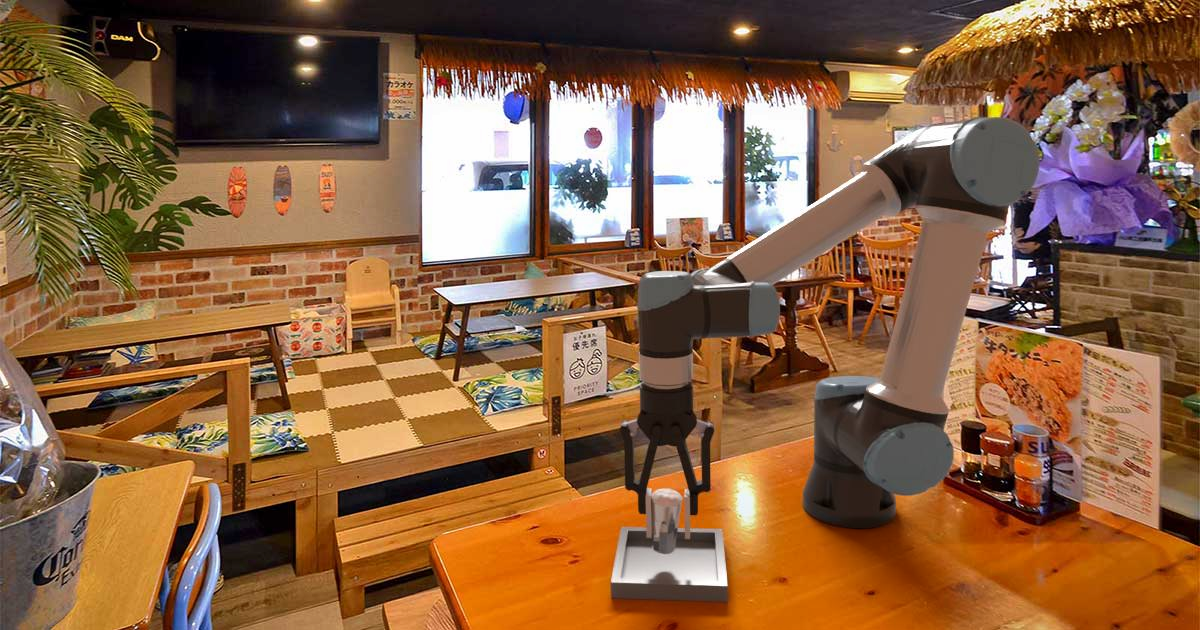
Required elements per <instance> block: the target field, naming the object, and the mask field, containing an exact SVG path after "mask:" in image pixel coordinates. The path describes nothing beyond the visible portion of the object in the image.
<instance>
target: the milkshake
mask: <svg viewBox="0 0 1200 630" xmlns="http://www.w3.org/2000/svg"><path fill="white" fill-rule="evenodd" d="M687 489H688V488H687ZM688 490H689V489H688ZM688 490H687V491H688ZM686 493H687V492H686ZM684 499H685V494H684V495H683V497H682V495H681V494H680V492H678V491H677V490H674V489H672V488H659V489H656V490H654V491H653V492H652V496H651V505H652V547H653V550H654V551H656V552H658V553H661V554H669V553H672V552H673V551H674V550H675V544H676V537H677V530H678V528H679V523H680V515H681V511H682V505H683V500H684Z"/></svg>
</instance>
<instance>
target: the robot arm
mask: <svg viewBox="0 0 1200 630" xmlns="http://www.w3.org/2000/svg"><path fill="white" fill-rule="evenodd" d="M1039 171H1040V154H1039V149H1038V145H1037V143H1036V142H1035V141H1034V140H1033V137H1032V136H1031V133H1030V132H1029V130H1027V128H1025V126H1023V125H1022V124H1021V123H1019V122H1018V121H1016V120H1013V119H1011V118H1007V117H1002V116H993V117H987V116H982V115H981V116H976V117H975V116H974V117H972V118H969V119H962V120H956V121H948V122H938V123H933V124H928V125H926V126H924V127H921V128H920V129H917V130H915V131H913V132H911V133H910V134H907V135H906V136H904V137H903V138H902V139H900V140H898V141H896V142H895V143H894V144H892V145H890V146H889V147H888V148H886V149H885V150H883V151H881V152H880V153H879V154H877V155H875V156H874V157H873V158H871V159H869V160H868V161H866V162H864V163H863V164H861V165H860V167H859V171H858V174H857V175H856V176H854V177H853V178H851V179H848V180H847V181H846V182H844V183H843V184H841V185H840V186H839V187H837V188H835V189H834V190H832V191H831V192H829V193H828V194H825V195H824V196H823V197H821V198H819V199H818V200H817V201H815V202H813V203H811V204H810V205H809V206H807V207H805V208H804V209H802V210H801V211H799V212H797V213H796V214H794V215H792V216H791V217H790V218H788V219H786V220H784V221H783V222H781V223H780V224H778V225H777V226H775V227H773V228H772V229H770V230H768V232H767V231H766V233H764V234H763V235H761V236H759V237H758V238H756V239H755V240H753V241H752V242H750V243H748V244H747V245H745V246H744V247H742V248H740V249H739V250H737V251H735V252H734V253H732V254H731V255H729V256H728V257H727V258H725V259H723V260H722V261H720V262H718V263H716V264H714V265H713V266H711V267H709V268H701V269H698V270H694V271H692V272H691V273H689V272H687V271H680V270H657V271H651V272H646V273H645V274H643V275H641V277H640V278H639V279H638V293H637V294H638V295H637V297H638V298H637V305H636V308H637V323H638V325H637V326H638V328H637V329H638V347H639V348H638V368H639V370H638V371H639V372H638V373H639V375H638V376H639V380H640V381H641V383H639V408H640V409H639V413H638V414H637V418H635V419H633V420H629V421H628V420H626V419H625V420H623V421H621V424H620V428H619V432H620V434H621V435H620V436H621V437H622V439H623V445H624V451H623V452H624V488H625V490H627V491H629V492H630V491H633V492H635V493H636V495H637V509H638V510H637V511H638V513H639V515H645V526H646V538H652V505H651V496H652V494H653V492H652V491H653V490H652V489H653V488H651V487H650V488H649V487H648V485H649V481H650V477H651V473H652V469H653V464H654V461H655V458H656V454H657V450H658V447H663V446H670V447H676V450H677V454H678V456H679V460H680V463H681V464H680V465H681V468H682V470H683V475H684V477H685V481H686V484H687V485H686V486H687V488H684V495H685V497H684V528H685V539H690V528H691V516H697V515H698V514H699V495H700V494H701V493H709V492H710V491H711V485H712V484H711V441H712V439H713V437H714V433H715V425H714V422H713V421H711V420H708V421H703V420H702V419H701V420H700V419H697V415H696V414H695V412H694V383H692V382H691V381H692V380H693V379H694V352H693V351H694V350H693V349H694V347H693V344H694V343H693V342H694V340H703V339H720V338H721V339H722V338H723V339H725V338H741V337H743V338H745V337H750V338H753V337H757V336H764V335H766V336H767V335H771V334H772V333H774V332H775V331H776V330H777V328H778V326H779V323H780V318H781V305H780V304H781V303H780V298H779V294H778V292H777V289H776V287H775V286H774V285H775V284H776V283H778V282H780V281H782V280H783V279H785V278H787V277H788V276H790V275H791V274H793V273H794V272H796V271H798V270H799V269H800V268H802V267H804V266H806V265H808V264H809V263H810V262H813V260H815V259H817V258H818V257H820V256H821V255H823V254H825V253H826V252H828V251H829V250H831V249H832V248H834V247H836V246H838V245H839V244H841V243H842V242H844V241H845V240H847V239H849V238H850V237H852V236H854V235H855V234H857V233H858V232H859V231H860V232H861V230H863V229H865V228H866V227H868V226H869V225H871V224H873V223H874V222H876V221H878V220H879V219H881V218H882V217H883V216H889V217H896V216H897V215H899V214H901V213H902V212H904V211H905V210H907V209H910V208H912V207H914V206H915V210H916V212H917V213H918V215H919V216H920V218H921V220H922V224H921V226H920V227H921V228H920V233H919V236H918V239H917V241H916V242H917V243H916V246H915V250H914V254H913V257H912V261H911V264H910V267H909V271H908V276H907V280H906V283H905V287H904V290H903V293H902V296H901V301H900V305H899V308H898V312H897V315H896V319H895V323H894V326H893V331H892V335H891V337H890V340H889V344H888V349H887V353H886V355H885V359H884V362H883V367H882V370H881V373H880V377H876V376H866V375H861V376H860V375H842V376H832V377H827V378H823V379H821V380H819V381H818V382H817V384H816V385H815V390H814V398H813V402H814V412H813V413H814V416H813V417H814V418H813V419H814V421H813V422H814V423H813V426H814V429H813V433H814V434H813V441H814V443H813V450H814V451H813V463H812V466H811V468H810V471H809V474H808V476H807V479H806V482H805V485H804V487H803V489H802V507H803V509H804V510H805V511H806V513H807V514H809V515H810V516H811V517H813V518H814V519H817V520H819V521H820V522H824V523H827V524H829V525H833V526H837V527H841V528H842V527H843V528H849V529H850V528H851V529H871V528H878V527H880V526H881V527H882V526H884V525H887V524H888V523H890V522H892V521H893V520H894V519H895V517H896V515H897V514H896V513H897V511H896V510H897V501H896V496H895V495H897V496H903V497H907V496H908V497H909V496H916V495H920V494H923V493H925V492H927V490H929V489H931V488H934V487H936V486H938V485H939V483H941V482H942V481H943V480H944V479H945V478H946V476H947V475H948V473H949V471H950V470H951V467H952V465H953V462H954V457H955V452H954V445H953V443H952V442H951V439H950V437H949V435H948V433H947V432H946V431H945V426H946V422H947V419H948V415H949V412H950V409H949V407H948V405H947V403H946V402H945V401H944V399H943V397H942V395H943V391H944V388H945V385H946V382H947V378H948V374H949V371H950V367H951V364H952V360H953V357H954V354H955V350H956V347H957V344H958V339H959V337H960V333H961V329H962V326H963V322H964V319H965V315H966V313H967V309H968V305H969V301H970V298H971V294H972V292H973V287H974V285H975V284H974V283H975V281H976V278H977V273H978V270H979V268H980V264H981V260H982V257H983V254H984V249H985V246H986V242H987V240H988V236H989V234H990V233H991V232H992V231H994V230H996V229H997V228H1000V227H1001V226H1002V225H1004V224H1005V221H1006V218H1007V215H1008V210H1009V207H1010V205H1012V204H1014V203H1016V202H1018V201H1019V200H1021V198H1022V197H1023V196H1026V195H1028V193H1029V192H1030V191H1031V190H1032V188H1033V187H1034V186H1035V183H1036V181H1037V178H1038V175H1039ZM638 428H639V429H640V430H641V432H642V433H643V434H644V435H645V436H646V438H647V439H648V444H647V445H648V446H647V449H646V453H645V455H644V456H645V457H644V460H643V465H642V467H641V468H642V469H641V472H640V478H639V479H637V478H635V477H636V476H635V436H636V435H637V431H638V430H637V429H638ZM694 429H696V430H697V435H698V436H699V438H700V444H701V445H700V447H701V448H700V455H701V480H698V481H697V478H696V477H697V476H696V474H695V470H694V466H693V463H692V458H691V455H690V452H689V450H688V444H687V438H688V437H689V436H690V434H691V433H692V432H693V430H694ZM688 489H689V490H688ZM687 490H688V491H687ZM686 492H687V493H686Z"/></svg>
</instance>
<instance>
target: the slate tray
mask: <svg viewBox="0 0 1200 630" xmlns="http://www.w3.org/2000/svg"><path fill="white" fill-rule="evenodd" d="M618 536H619V537H618V542H617V548H616V553H615V558H614V561H613V562H614V563H613V568H612V574H611V579H610V596H611V599H625V600H626V599H629V600H655V601H656V600H658V601H660V600H661V601H684V602H686V601H687V602H688V601H691V602H712V603H713V602H715V603H716V602H717V603H728V602H729V596H728V595H729V593H728V592H729V585H728V575H727V564H726V554H725V544H724V534H723V528H700V527H699V528H696V527H695V528H694V527H693V528H691V527H690V539H685V527H678V530H677V537H676V544H675V550H674V551H673V552H672V553H669V554H661V553H658V552H656V551H654V550H653V547H652V538H646V527H645V526H644V527H641V526H640V527H639V526H620V531H619V535H618Z"/></svg>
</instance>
